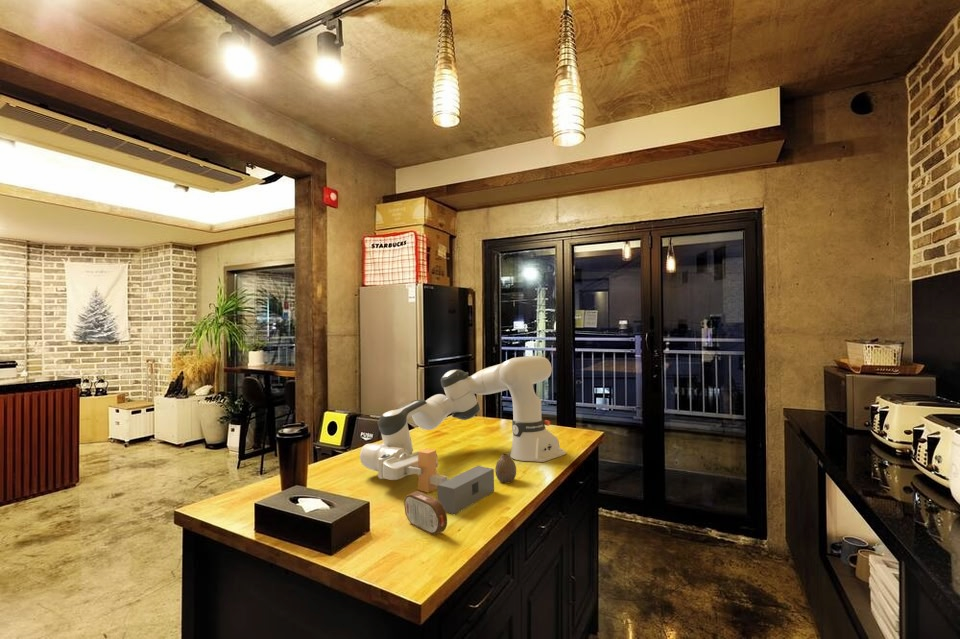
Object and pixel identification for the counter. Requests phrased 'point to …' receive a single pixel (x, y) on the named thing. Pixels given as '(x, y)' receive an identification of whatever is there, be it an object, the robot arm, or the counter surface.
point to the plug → (428, 471)
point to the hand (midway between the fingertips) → (429, 468)
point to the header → (465, 489)
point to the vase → (505, 469)
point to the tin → (425, 512)
